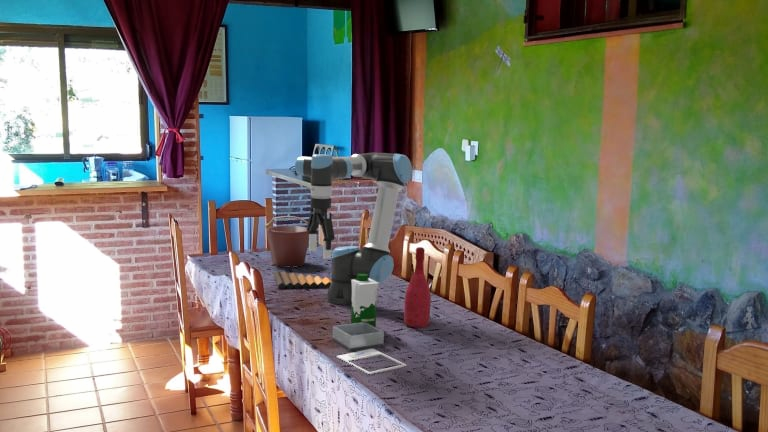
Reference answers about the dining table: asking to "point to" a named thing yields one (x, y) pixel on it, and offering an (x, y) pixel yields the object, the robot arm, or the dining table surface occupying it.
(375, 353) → the photo frame
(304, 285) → the pan flute
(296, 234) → the bucket
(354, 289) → the soya milk
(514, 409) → the dining table surface
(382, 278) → the robot arm
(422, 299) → the wine bottle
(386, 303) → the dining table surface
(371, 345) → the collar
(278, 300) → the dining table surface
